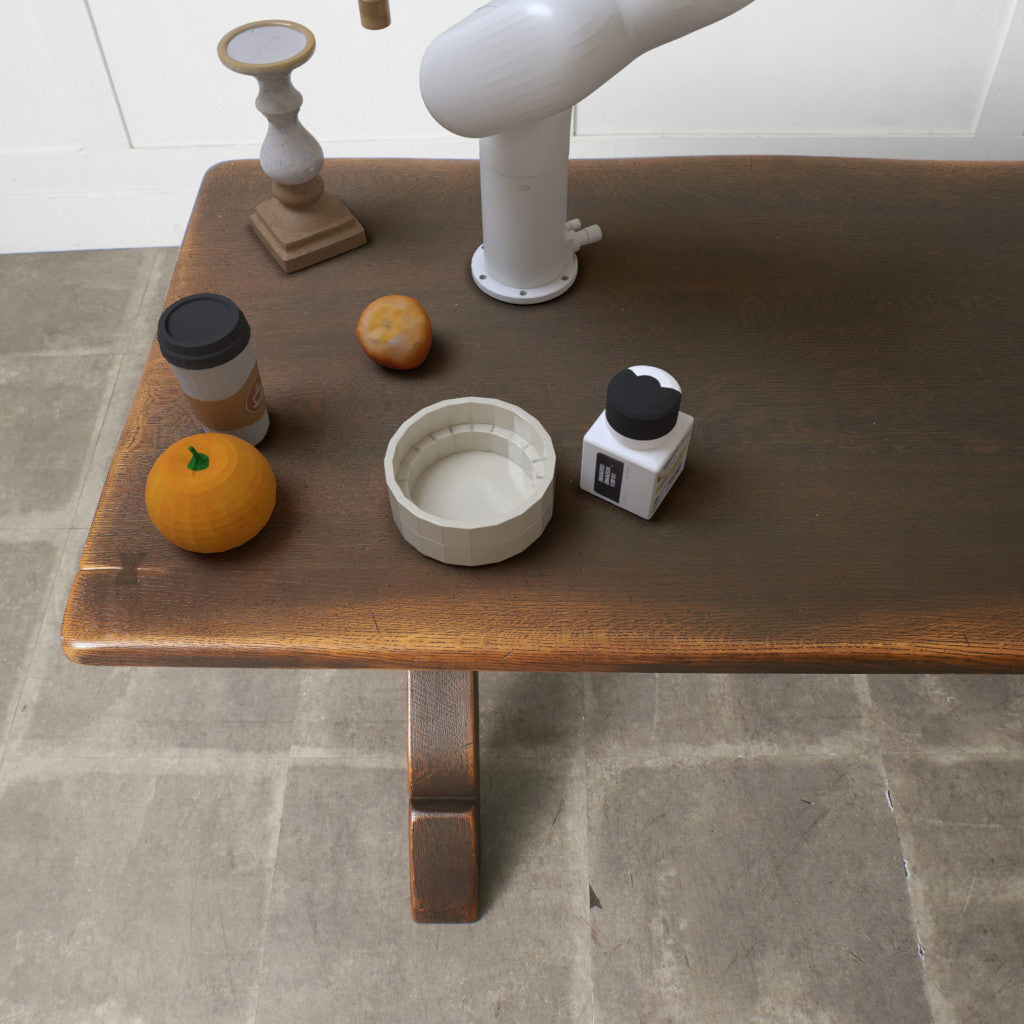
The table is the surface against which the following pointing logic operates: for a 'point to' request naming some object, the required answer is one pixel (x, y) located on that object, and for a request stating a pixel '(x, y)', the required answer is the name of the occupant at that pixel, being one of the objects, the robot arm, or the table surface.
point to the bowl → (471, 480)
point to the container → (637, 441)
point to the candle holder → (289, 149)
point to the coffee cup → (215, 364)
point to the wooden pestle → (374, 14)
